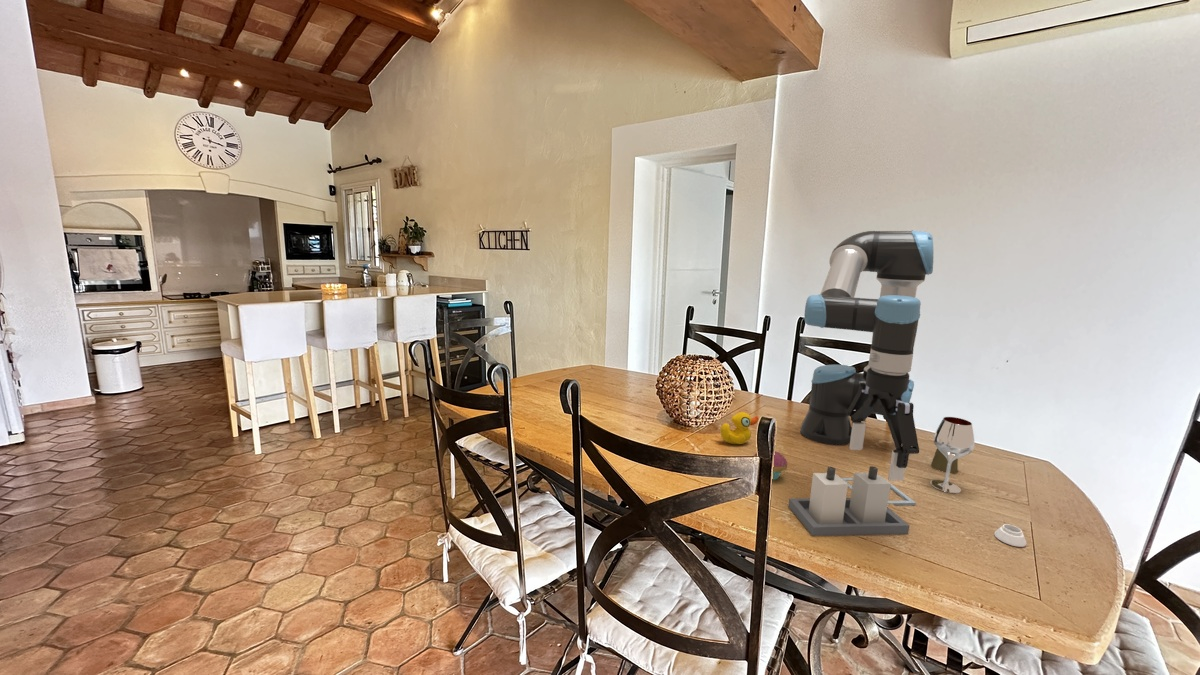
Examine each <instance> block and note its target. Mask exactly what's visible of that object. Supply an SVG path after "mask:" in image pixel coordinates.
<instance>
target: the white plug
mask: <svg viewBox="0 0 1200 675" xmlns="http://www.w3.org/2000/svg"><path fill="white" fill-rule="evenodd" d="M836 469H837V468H835V467H833V466H827V469H826V472H814V473H812V480H811V489H810V495H809V496H810V497H809V498H810V504H809V512H808V513H809V515H810V516H811V517H812V518H813V519H814V520H815V522H816V523H817V524H843V517H844V509H845V502H846V498H847V494H848V489H849V487H848V484H847V483H846V482H845V481H846V480H845V481H844V480H842V479H841V478H842V477H840V476H839V475H838V474H837V472H836Z"/></svg>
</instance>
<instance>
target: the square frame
mask: <svg viewBox="0 0 1200 675" xmlns="http://www.w3.org/2000/svg"><path fill="white" fill-rule="evenodd" d="M840 478H841V479H842V480H844V481H845V482H846V483H847V484H848V489H850V490H851V491H852V485H851V484H850V483H849V481H853V478H854V477H840ZM885 480H886V481H888V480H887V479H885ZM890 490H891V491H893V492H894V493H896V494H897V495H898V496H900V498H902V499H903V500H888V505H891V504H892V505H894V506H916V505H917V502H916V501H914V500H913V498H910V497H909V496H908V495H906V494H905V493H904V492H902V490H900V489H898V488H897V487H896V486H895V485H894V484H892V483H891V486H890Z"/></svg>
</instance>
